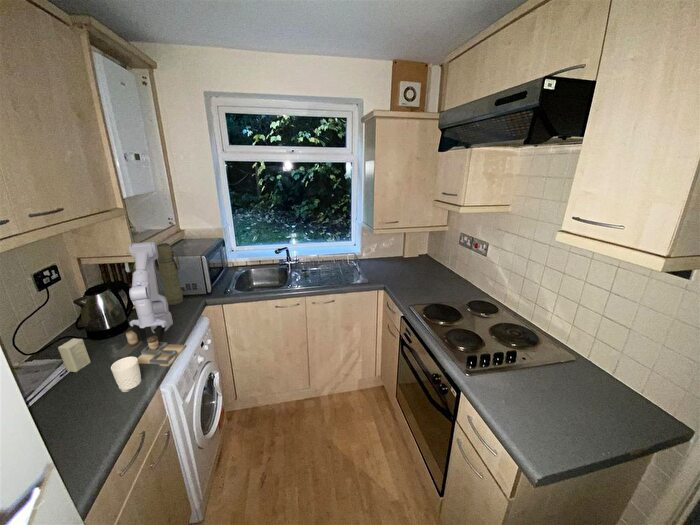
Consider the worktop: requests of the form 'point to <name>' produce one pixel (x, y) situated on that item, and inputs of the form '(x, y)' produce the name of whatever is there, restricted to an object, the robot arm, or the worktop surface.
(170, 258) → the thermos
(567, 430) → the worktop surface
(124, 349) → the pad
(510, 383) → the worktop surface
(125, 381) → the white cup
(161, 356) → the socket board
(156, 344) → the sleeve band up
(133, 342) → the sleeve band down
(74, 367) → the skincare box
